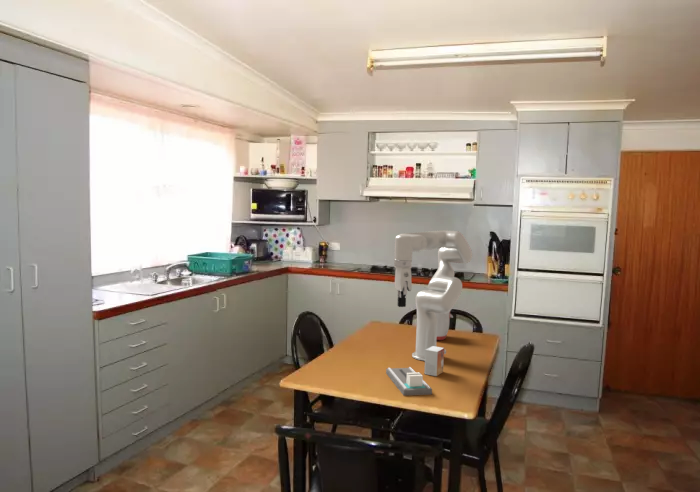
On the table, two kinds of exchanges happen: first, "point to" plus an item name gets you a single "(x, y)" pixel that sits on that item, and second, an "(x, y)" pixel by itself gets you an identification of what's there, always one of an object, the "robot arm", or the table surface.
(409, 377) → the fader knob
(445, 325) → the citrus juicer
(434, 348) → the small box
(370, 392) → the table surface
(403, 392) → the fader board
